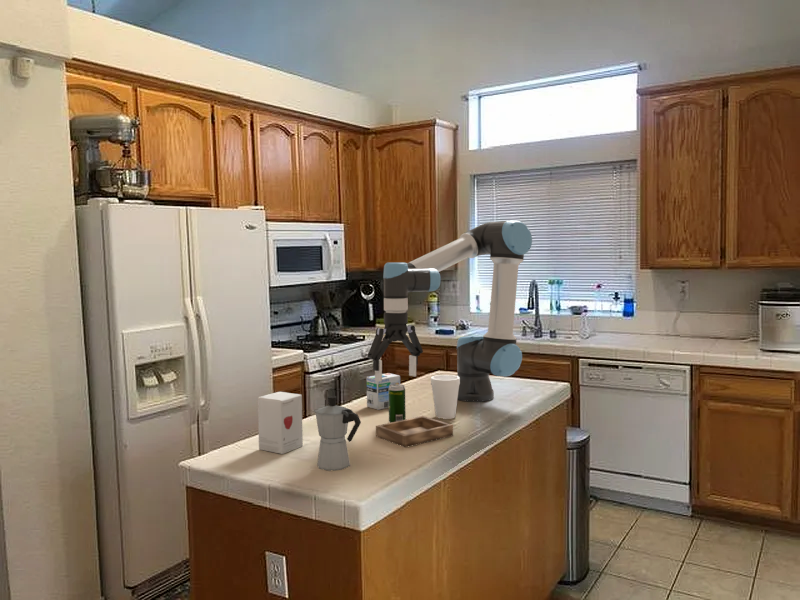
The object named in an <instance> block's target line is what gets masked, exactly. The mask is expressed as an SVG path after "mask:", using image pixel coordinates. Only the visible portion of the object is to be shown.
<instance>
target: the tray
mask: <svg viewBox="0 0 800 600" xmlns="http://www.w3.org/2000/svg"><path fill="white" fill-rule="evenodd" d="M375 436H377V437H376V438H380V439H382V440H384V439H385V440H384V441H387V442H389V441H390V442H389V443H392V442H393V444H395V445H397V444H398V446H400V445H401V446H400V447H403V448H408V446H409V447H413V446H417V445H420V443H421V444H424V442H425V443H427V441H429V442H431V440H433V441H437V440H441V439H444V438H450V437H453V436H454V425H453V424H451V423H448V422H445V421H442V420H439V419H434V418H433V417H432V418H431V417H428V416H425V415H421V416H420V415H419V416H416V417H411V418H406V419H405V420H401V421H396V422H391V423H390V422H387V423H384V424H378V425H375ZM440 438H441V439H440ZM436 439H437V440H436ZM416 444H417V445H416ZM412 445H413V446H412Z"/></svg>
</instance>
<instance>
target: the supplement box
mask: <svg viewBox="0 0 800 600" xmlns="http://www.w3.org/2000/svg"><path fill="white" fill-rule="evenodd" d="M257 414H258V415H257V416H258V417H257V419H258V423H257V424H258V428H257V429H258V450H261V451H267V452H270V453H274V454H275V453H276V454H280V455H284V454H286V453H289V452H291V451H293V450H296V449H298V448H299V449H300V448H301V447H303V446H304V444H303V441H304V439H303V438H304V437H303V435H304V434H303V396H302V394H299V393H291V392H286V391H277V392H273V393H269V394H265V395H262V396H258V397H257Z"/></svg>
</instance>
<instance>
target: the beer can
mask: <svg viewBox="0 0 800 600" xmlns="http://www.w3.org/2000/svg"><path fill="white" fill-rule="evenodd" d="M388 395H389V408H388V423H391V422H396V421H401V420H405V419H407V417H406V414H407V413H406V387H405V385H404V384H401V383H400V384H393V385H389V389H388Z"/></svg>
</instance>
